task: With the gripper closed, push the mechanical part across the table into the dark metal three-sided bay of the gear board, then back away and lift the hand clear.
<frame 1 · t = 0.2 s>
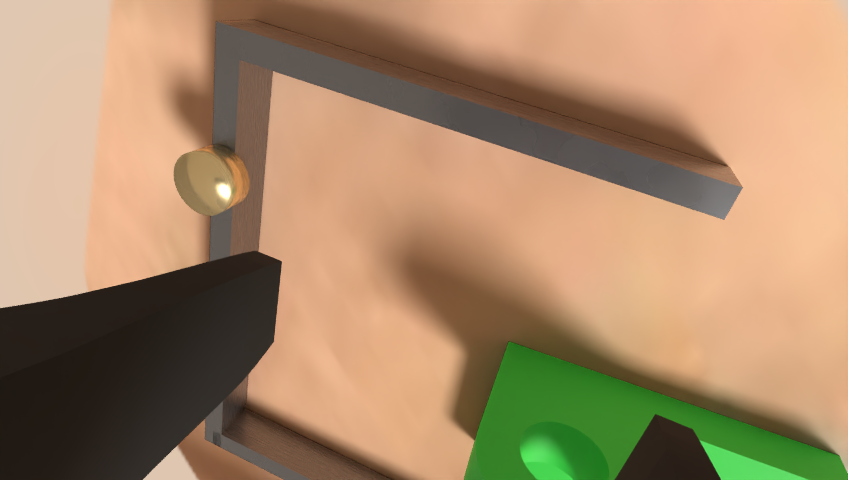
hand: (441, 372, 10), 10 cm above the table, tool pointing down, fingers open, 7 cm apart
gear bay: (404, 327, 22), on the table
mechanical part: (634, 441, 21), on the table
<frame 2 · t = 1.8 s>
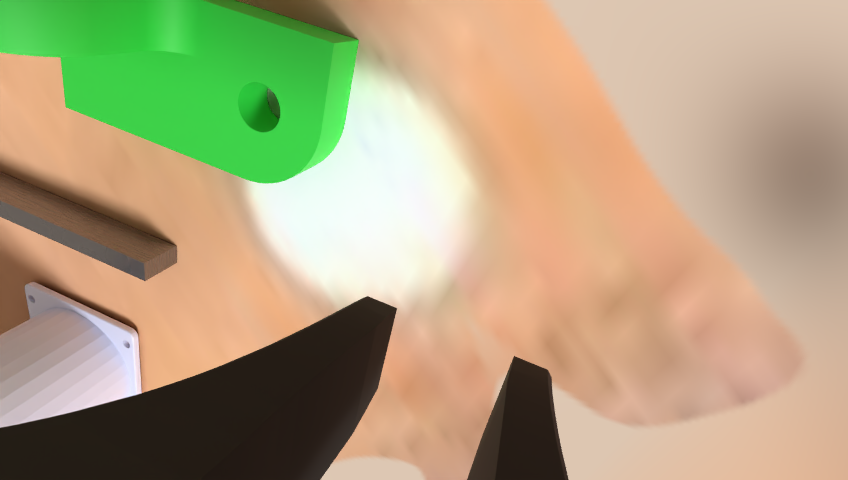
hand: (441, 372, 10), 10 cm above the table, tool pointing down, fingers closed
mechanical part: (221, 72, 21), on the table
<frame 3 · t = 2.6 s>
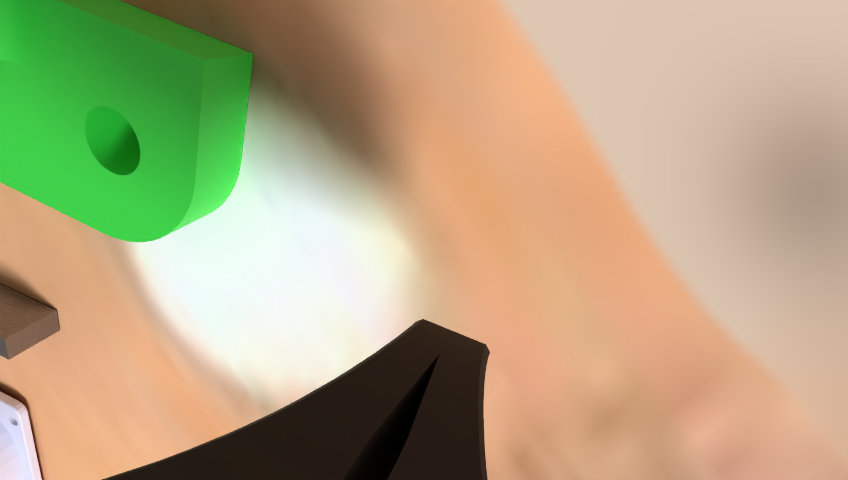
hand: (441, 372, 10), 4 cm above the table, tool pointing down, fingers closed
mechanical part: (84, 84, 16), on the table
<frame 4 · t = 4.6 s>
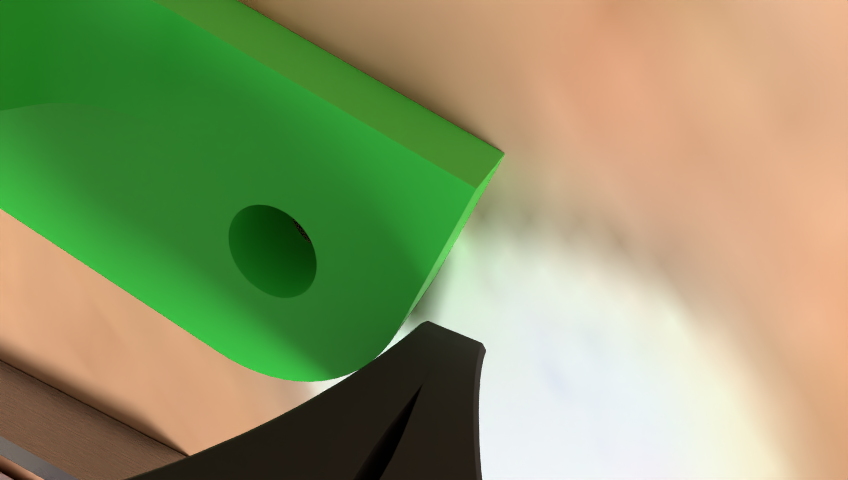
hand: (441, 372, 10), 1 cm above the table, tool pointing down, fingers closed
mechanical part: (202, 130, 11), on the table, touching gripper
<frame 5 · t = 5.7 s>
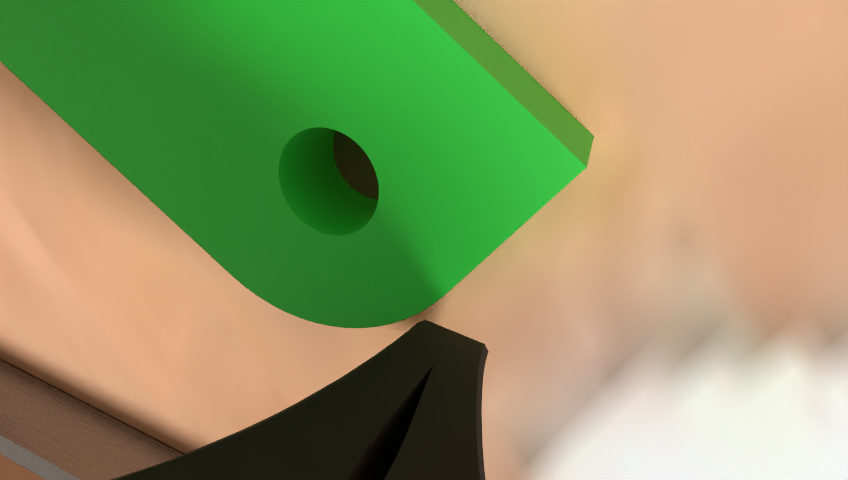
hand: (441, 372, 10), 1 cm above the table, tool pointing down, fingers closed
gear bay: (103, 148, 12), on the table
mechanical part: (254, 29, 10), on the table
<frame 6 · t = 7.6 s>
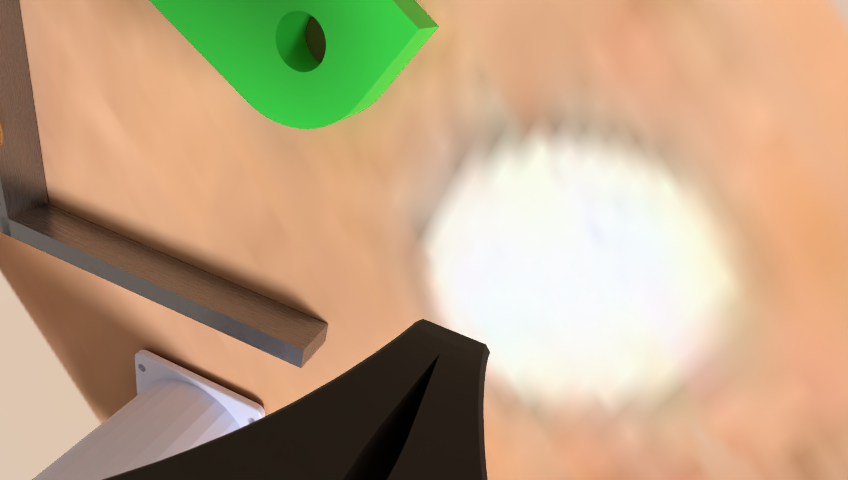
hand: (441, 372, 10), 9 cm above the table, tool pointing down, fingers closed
gear bay: (165, 51, 20), on the table
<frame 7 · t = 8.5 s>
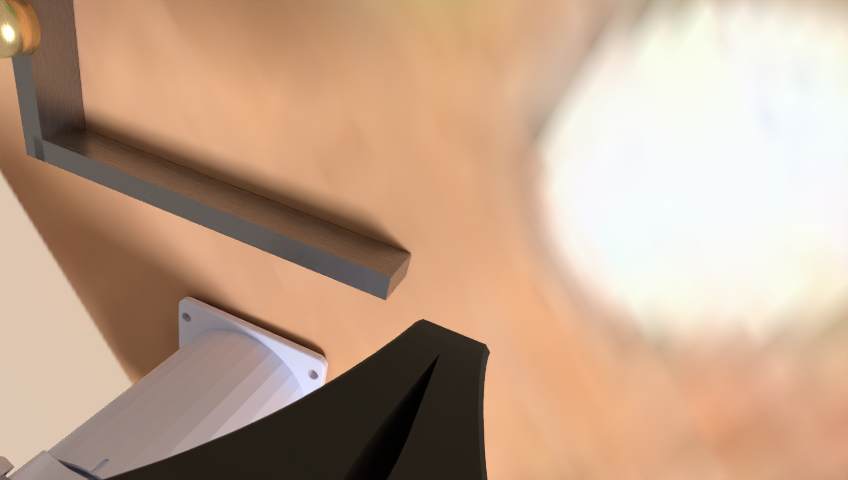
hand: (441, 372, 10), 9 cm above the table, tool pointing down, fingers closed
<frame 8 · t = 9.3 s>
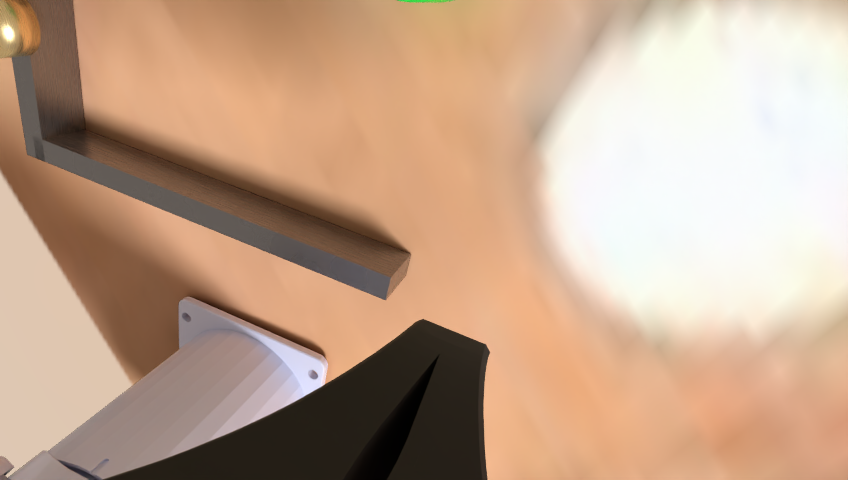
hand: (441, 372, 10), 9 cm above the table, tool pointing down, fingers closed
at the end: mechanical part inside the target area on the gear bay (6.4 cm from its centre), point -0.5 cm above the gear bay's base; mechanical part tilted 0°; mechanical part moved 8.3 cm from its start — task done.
